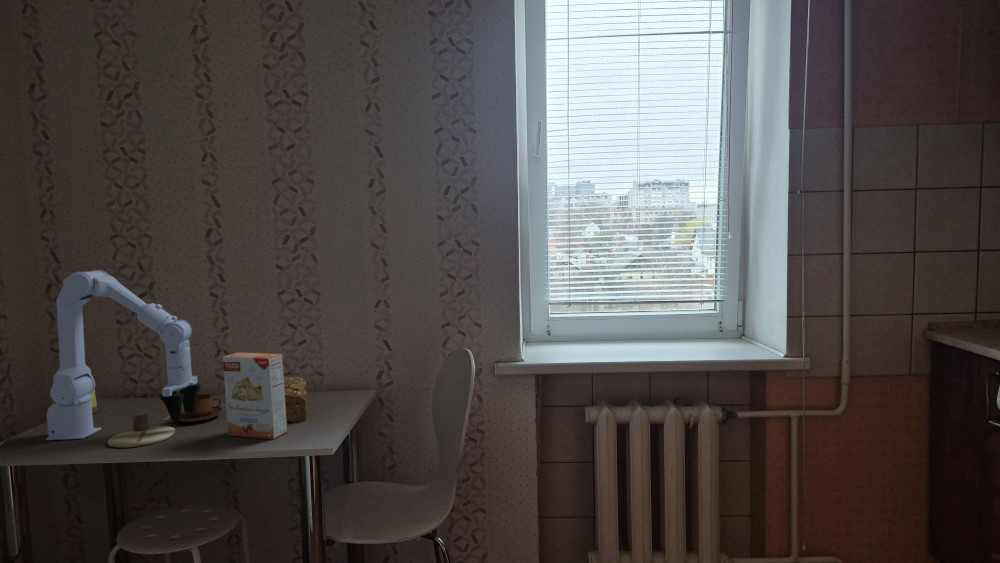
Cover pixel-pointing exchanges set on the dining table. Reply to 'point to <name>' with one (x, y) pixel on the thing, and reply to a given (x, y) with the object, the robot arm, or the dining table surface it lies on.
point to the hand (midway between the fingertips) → (183, 415)
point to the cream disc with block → (141, 433)
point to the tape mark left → (166, 418)
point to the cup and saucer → (202, 409)
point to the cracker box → (255, 395)
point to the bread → (295, 398)
